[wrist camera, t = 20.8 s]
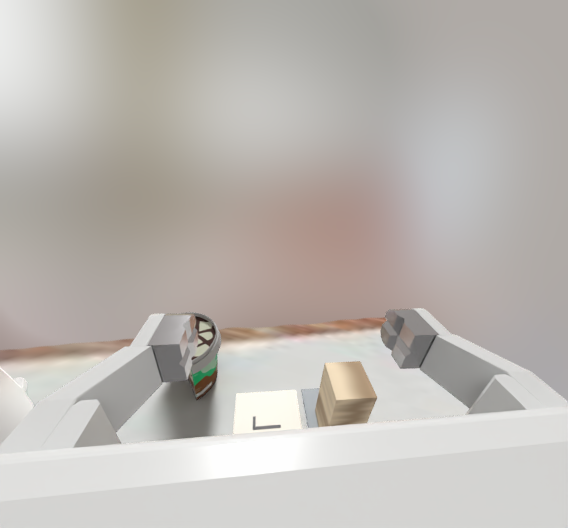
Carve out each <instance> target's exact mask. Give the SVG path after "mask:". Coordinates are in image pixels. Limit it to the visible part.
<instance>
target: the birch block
mask: <svg viewBox="0 0 568 528" xmlns="http://www.w3.org/2000/svg"><path fill="white" fill-rule="evenodd" d="M376 399H377V396H376V394H375V392H374V389H373V387H372V385H371V383H370V381H369V379H368V377H367V375H366V373H365V371H364V368H363V366H362V364H361V362H360V361H358V362H337V363H325V365H324V370H323V375H322V379H321V384H320V389H319V394H318V398H317V403H316V408H315V413H316V418H317V422H318V427H326V426H338V425H350V424H362V423H367V421H368V419H369V416H370V414H371V411H372V409H373V407H374V404H375V402H376Z"/></svg>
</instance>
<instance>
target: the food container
mask: <svg viewBox="0 0 568 528" xmlns="http://www.w3.org/2000/svg"><path fill="white" fill-rule="evenodd" d="M180 314H194V315H195V319H196V323H195V326H194V328H195V329H197V331H198V345H197V350H196V354H195V355H194V356H193V357H192V358H191V360H192V367H191V370H190V373H189V376H188V379H189V382H190V384H191V387H192V390H193V392H194V395H195V398H196V400H198V399H199V398H201V397H202V396H204V395H205V394H206V393H207V392H208V391H209V390H210V389H211V387H212V386H213V384H214V382H215V381H216V377H217V353H218V351H219V348H220V345H221V335H220V332H219V330H218V328H217V326H216V324H215V323H214V322H213V321H212V319H210V318H209V317H207V316H205V315H202V314H199V313H180Z"/></svg>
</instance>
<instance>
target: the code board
mask: <svg viewBox="0 0 568 528" xmlns="http://www.w3.org/2000/svg"><path fill="white" fill-rule="evenodd" d="M319 389H320V388H316V389H302V396H303V401H304V407H305V412H306V418H307V424H308V428H314V427H318V422H317V418H316V413H315V408H316V403H317V398H318V394H319ZM290 429H302V426H301V419H300V413H299V406H298V400H297V394H296V390H284V391H268V392H252V393H236V404H235V415H234V426H233V434H243V433H255V432H266V431H278V430H290Z"/></svg>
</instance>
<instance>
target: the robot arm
mask: <svg viewBox="0 0 568 528" xmlns="http://www.w3.org/2000/svg"><path fill="white" fill-rule="evenodd" d="M385 318H386V320H387V321H386V322H385V323H384V324H383V325H382V328H381V338H382V341H383V343H384V344H385V346H386V347H387V348H389V349H390V350H392V354H391V355H392V357H393V358H394V360H395V361H396V363H397V364H398V366H399V367H400V369H407V368H420V370H421V371H423V372H424V373H425V374H426V375H428V376H429V377H430V378H432V379H433V380H434V381H435V382H437V383H438V384H439V385H440V386H442V387H443V388H444V389H445V390H447V391H448V392H449V393H451V394H452V395H453V396H454V397H456V398H457V399H458V400H459V401H461V402H462V403H463V404H465V405H466V406H467V407H468V408H470V409H469V410H468V412H467V413H466V414H465V415H456V416H445V417H433V418H421V419H409V420H397V421H386V422H374V423H362V424H350V425H338V426H326V427H314V428H302V429H290V430H278V431H266V432H255V433H243V434H231V435H219V436H207V437H195V438H183V439H172V440H160V441H148V442H136V443H124V444H121V442H120V440H119V438H118V436H117V434H116V432H117V431H118V430H119V429H120V428H121V427H122V426H123V424H124V423H125V422H126V421H127V420H128V419H129V418H130V417H131V416H132V415H133V414H134V413H135V412H136V411H137V410H138V409H139V408H140V407H141V406H142V405H143V404H144V403H145V401H146V400H147V399H148V398H149V397H150V396H151V395H152V394H153V393H154V392H155V391H156V390H157V389H158V388H159V387H160V386H161V385H162V382H173V381H185V380H187V379H188V376H189V373H190V370H191V367H192V360H191V358H192V357H193V356H194V355H195V354H196V350H197V345H198V331H197V329H195V328H194V326H195V323H196V319H195V315H194V314H152V315H150V316H149V318H148V319H147V321H146V322H145V324H144V326H143V327H142V329H141V330H140V332H139V333H138V334H137V336H136V337H135V339H134V340H133V342H132V344H131V345H130V347H124V348H122V349H121V350H119V351H117V352H116V353H114V354H113V355H111V356H110V357H108V358H106V359H105V360H103V361H102V362H100V363H99V364H97V365H95V366H94V367H92V368H91V369H89V370H87V371H86V372H84V373H83V374H81V375H80V376H78V377H76V378H75V379H73V380H72V381H70V382H69V383H67V384H65V385H64V386H62V387H61V388H59V389H57V390H56V391H54V392H53V393H51V394H50V395H48V396H46V397H45V398H43V399H42V400H40V401H39V402H38V403H37V404H36V405H35V406H33V403H32V401H31V399H30V398H29V397H28V396H27V395H26V390H27V381H26V380H25V379H24V378H21V377H19V378H13V379H12V378H11V377H10V376H9V375H8V374H7V373H6V372H5V371H4V370H3V369H2V368H1V367H0V528H568V401H567V400H565V399H564V398H563V397H562V396H560V395H559V394H558V393H557V392H555V391H554V390H553V389H552V388H550V387H549V386H548V385H547V384H546V383H544V382H543V381H542V380H541V379H540V378H538V377H537V376H536V375H535V374H533V373H532V372H531V371H529V370H527V369H524V368H522V367H520V366H518V365H516V364H514V363H512V362H510V361H508V360H506V359H504V358H502V357H500V356H498V355H496V354H494V353H491V352H490V351H488V350H486V349H484V348H482V347H480V346H478V345H476V344H473V343H471V342H469V341H467V340H465V339H463V338H461V337H459V336H457V335H452V334H451V333H450V332H449V331H448V330H447V329H446V328H444V327H443V326H442V325H441V324H440V323H439V322H438V321H437V320H436V319H435V318H434V317H433V316H432V315H431V314H430V313H429V312H428V311H427V310H424V309H422V308H417V309H394V310H388V312H387V313H386V316H385Z"/></svg>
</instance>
